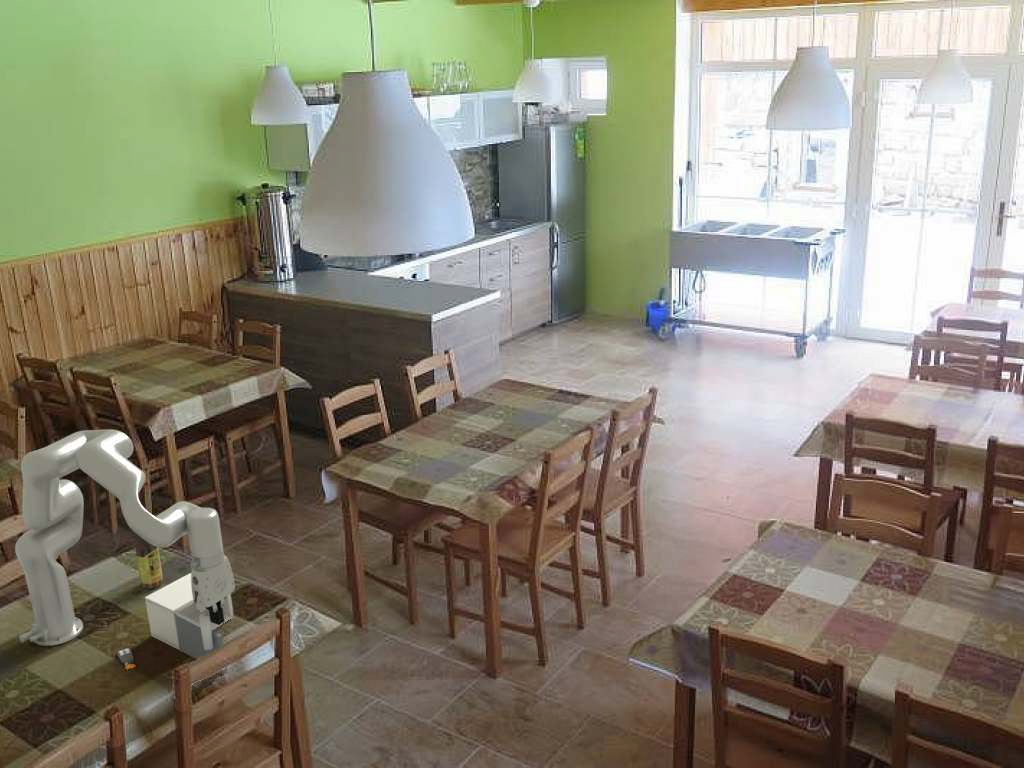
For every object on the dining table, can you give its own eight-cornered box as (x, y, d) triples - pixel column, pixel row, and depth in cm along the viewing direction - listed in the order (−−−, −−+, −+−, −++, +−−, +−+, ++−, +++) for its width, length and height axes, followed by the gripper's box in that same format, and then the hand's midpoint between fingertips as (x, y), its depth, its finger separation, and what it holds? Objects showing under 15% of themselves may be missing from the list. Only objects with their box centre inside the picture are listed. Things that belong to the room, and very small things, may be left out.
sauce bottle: (156, 590, 281) (145, 530, 275) (137, 588, 282) (126, 528, 276) (168, 579, 287) (158, 519, 281) (149, 577, 289) (138, 518, 282)
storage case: (179, 650, 253) (173, 610, 249) (151, 635, 259) (144, 597, 255) (233, 617, 267) (228, 579, 263) (205, 604, 273) (200, 567, 269)
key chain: (115, 655, 252) (114, 650, 252) (130, 650, 254) (129, 645, 254) (127, 680, 242) (126, 675, 241) (142, 675, 244) (141, 670, 243)
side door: (171, 654, 250) (161, 599, 245) (182, 647, 253) (173, 593, 247) (216, 679, 240) (207, 622, 234) (227, 672, 242) (219, 615, 237)
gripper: (196, 575, 227) (206, 641, 233) (241, 547, 239) (249, 611, 245) (173, 567, 231) (184, 633, 237) (219, 540, 243) (228, 603, 249)
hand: (217, 621), depth 241 cm, fingers closed
